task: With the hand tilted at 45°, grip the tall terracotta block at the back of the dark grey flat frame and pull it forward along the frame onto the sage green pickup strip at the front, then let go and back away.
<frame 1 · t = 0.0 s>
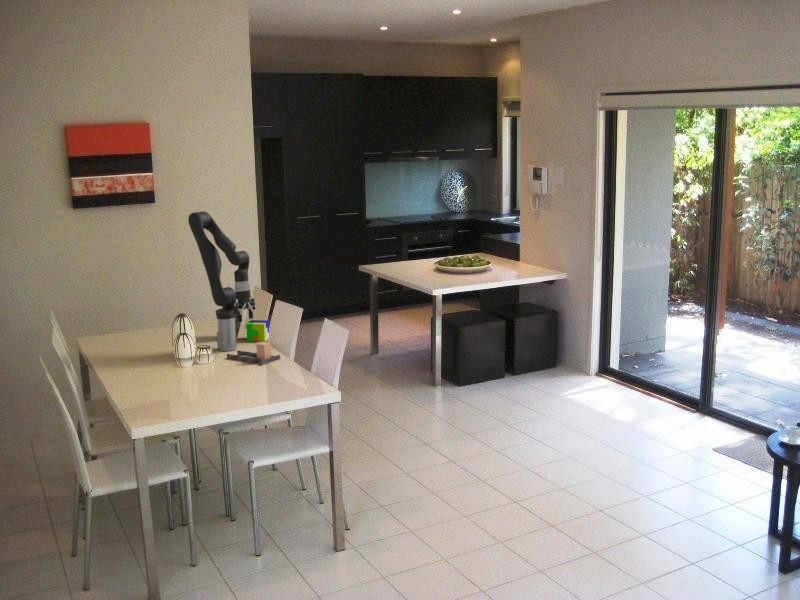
hand: (245, 320, 438), 17 cm above the table, tool pointing down, fingers open, 8 cm apart
plant pot: (230, 338, 474), on the table
terracotta block: (264, 361, 417), point 1 cm above the table, touching dark grey flat frame
dark grey flat frame: (251, 361, 422), on the table
puzzle toy: (258, 340, 469), on the table
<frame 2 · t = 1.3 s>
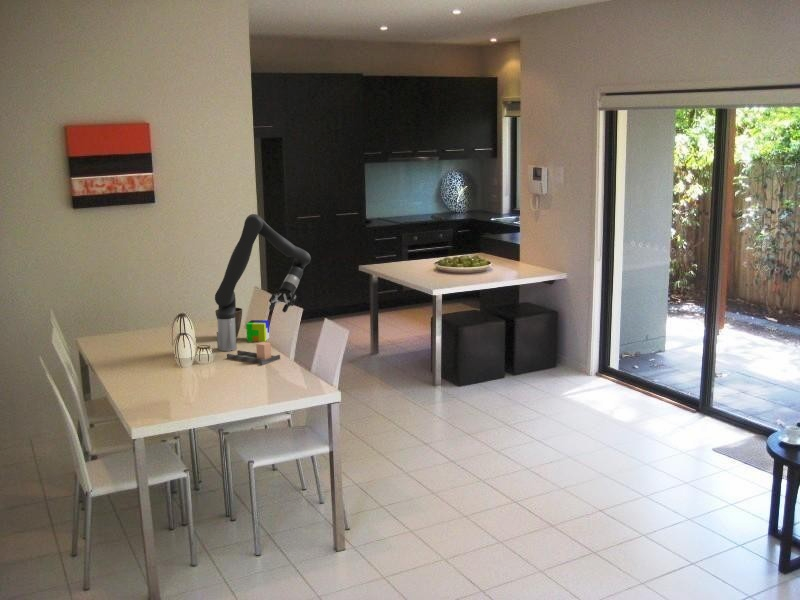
hand: (277, 310, 426), 24 cm above the table, tool tilted 45°, fingers open, 8 cm apart
nothing on the table moved.
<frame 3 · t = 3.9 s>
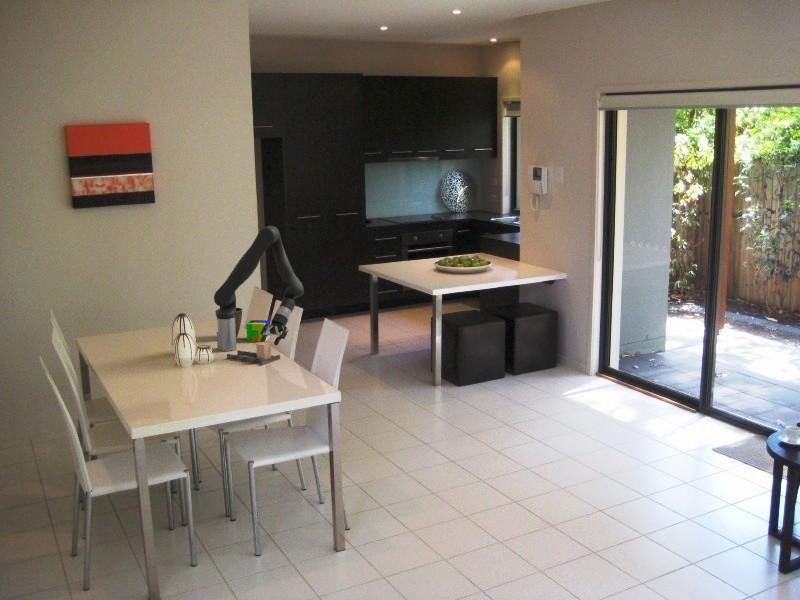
hand: (268, 343, 419), 10 cm above the table, tool tilted 45°, fingers open, 8 cm apart
nothing on the table moved.
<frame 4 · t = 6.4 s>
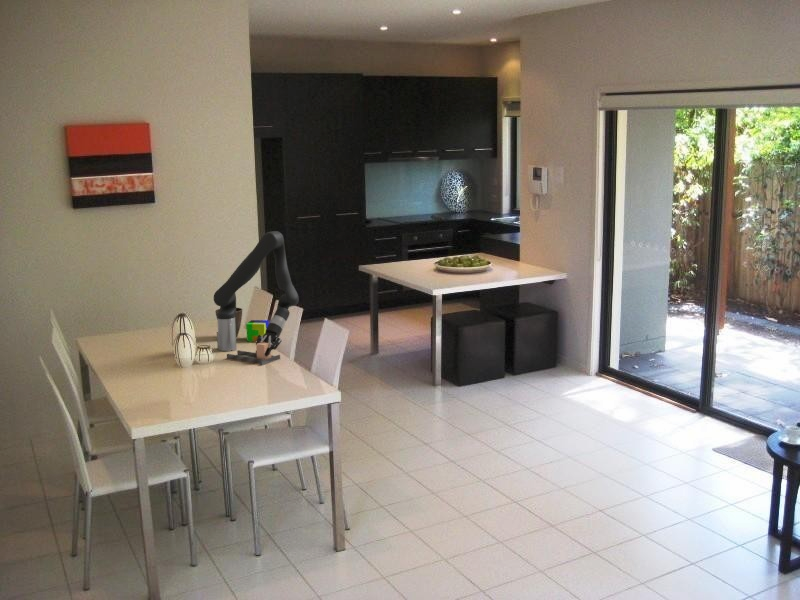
hand: (261, 354, 415), 5 cm above the table, tool tilted 45°, fingers closed on terracotta block, 5 cm apart
terracotta block: (264, 361, 417), point 2 cm above the table, touching gripper, dark grey flat frame
everything else where it was.
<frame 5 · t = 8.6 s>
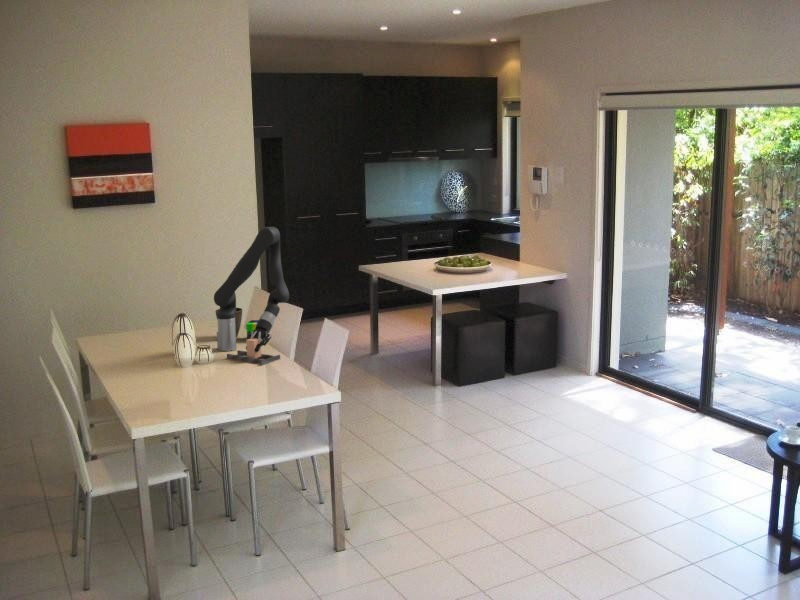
hand: (251, 350, 418), 7 cm above the table, tool tilted 45°, fingers closed on terracotta block, 5 cm apart
terracotta block: (254, 356, 420), point 3 cm above the table, touching gripper
everything else where it was.
when the fingers open (6 cm above the table, at t = 11.2 s): terracotta block stays where it is, resting on dark grey flat frame.
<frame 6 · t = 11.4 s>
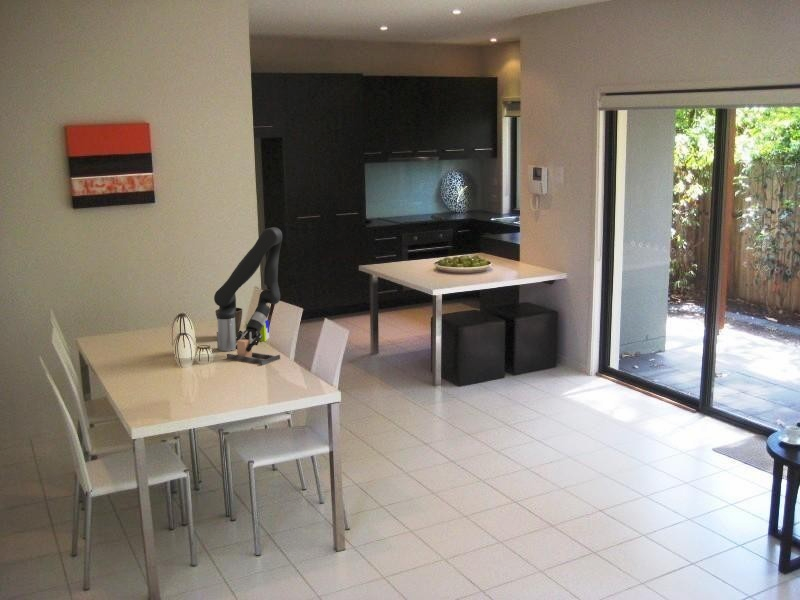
hand: (242, 350, 421), 6 cm above the table, tool tilted 45°, fingers open, 6 cm apart
terracotta block: (245, 357, 424), point 2 cm above the table, touching dark grey flat frame
everything else where it was.
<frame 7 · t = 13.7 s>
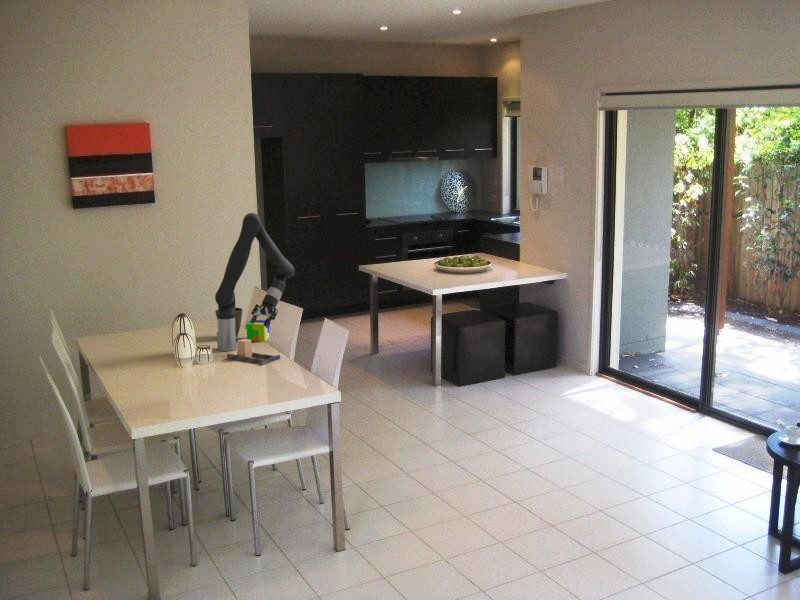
hand: (258, 324, 432), 16 cm above the table, tool tilted 40°, fingers open, 8 cm apart
nothing on the table moved.
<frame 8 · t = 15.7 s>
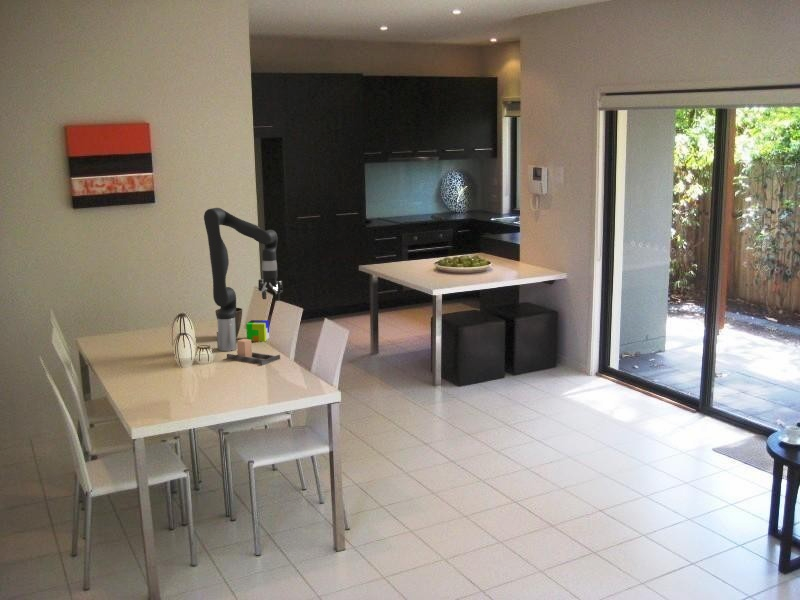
hand: (271, 299, 434), 28 cm above the table, tool pointing down, fingers open, 8 cm apart
nothing on the table moved.
at the end: terracotta block 0.5 cm from the target spot on the dark grey flat frame, point 1.7 cm above the dark grey flat frame's base; terracotta block tilted 0°; the gripper is holding nothing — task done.
